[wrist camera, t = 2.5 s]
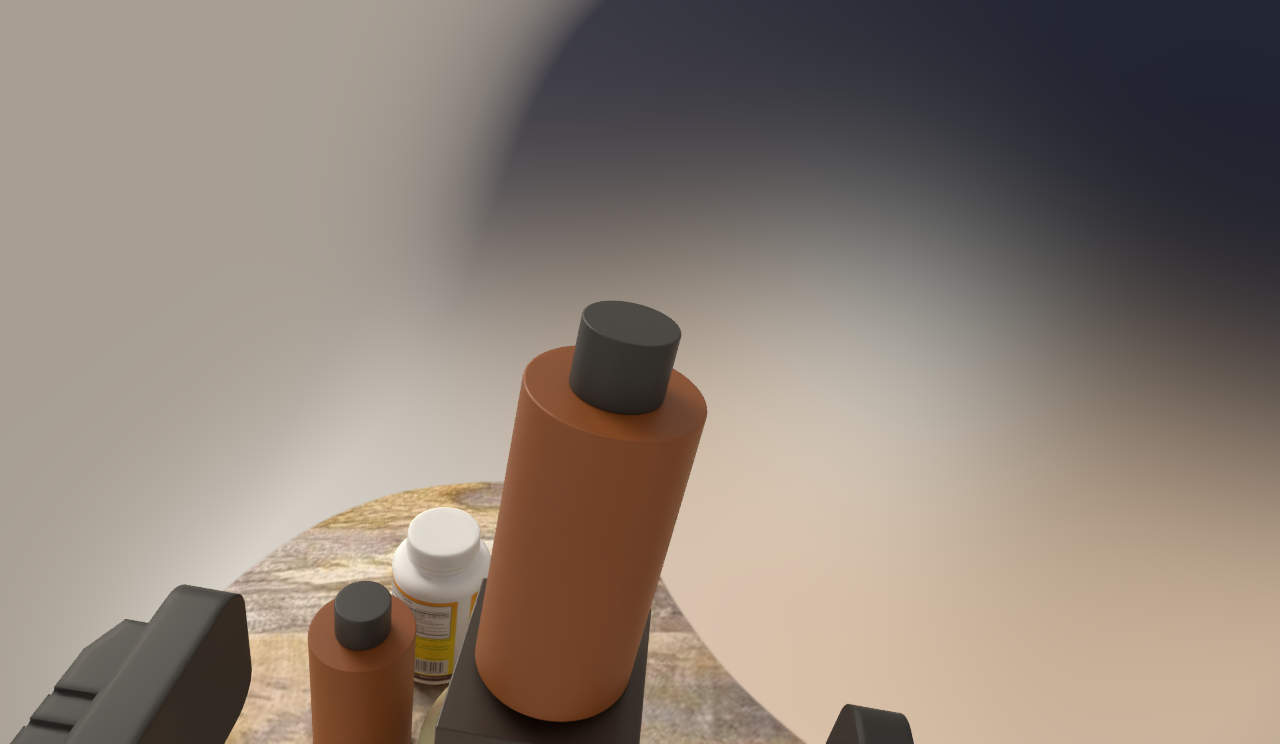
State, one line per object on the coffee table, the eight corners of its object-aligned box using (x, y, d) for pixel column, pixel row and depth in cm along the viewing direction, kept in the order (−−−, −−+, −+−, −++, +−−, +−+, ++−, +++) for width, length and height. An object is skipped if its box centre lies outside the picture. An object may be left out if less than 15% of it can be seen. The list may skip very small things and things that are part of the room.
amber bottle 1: (298, 786, 45) (288, 633, 39) (335, 704, 49) (330, 554, 43) (393, 803, 45) (399, 652, 39) (421, 720, 50) (430, 572, 43)
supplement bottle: (463, 605, 57) (473, 487, 51) (496, 671, 53) (511, 550, 48) (378, 631, 54) (379, 509, 49) (406, 703, 50) (412, 579, 45)
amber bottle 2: (456, 702, 25) (517, 341, 20) (494, 587, 30) (552, 266, 24) (623, 738, 26) (729, 389, 20) (636, 618, 30) (726, 306, 24)
